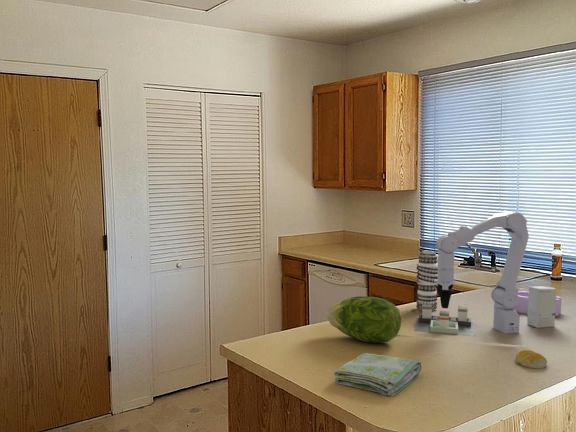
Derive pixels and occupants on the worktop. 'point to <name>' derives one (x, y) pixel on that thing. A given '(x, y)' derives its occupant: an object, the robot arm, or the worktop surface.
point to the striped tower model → (427, 279)
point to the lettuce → (366, 318)
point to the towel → (378, 373)
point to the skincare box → (541, 306)
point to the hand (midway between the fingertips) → (444, 305)
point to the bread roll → (530, 359)
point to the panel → (454, 327)
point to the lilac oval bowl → (523, 303)
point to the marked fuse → (444, 319)
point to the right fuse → (462, 313)
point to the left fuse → (427, 311)
